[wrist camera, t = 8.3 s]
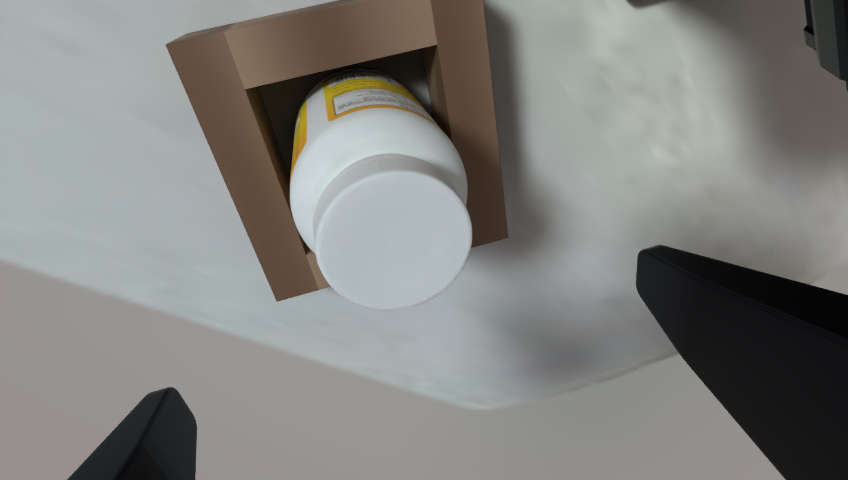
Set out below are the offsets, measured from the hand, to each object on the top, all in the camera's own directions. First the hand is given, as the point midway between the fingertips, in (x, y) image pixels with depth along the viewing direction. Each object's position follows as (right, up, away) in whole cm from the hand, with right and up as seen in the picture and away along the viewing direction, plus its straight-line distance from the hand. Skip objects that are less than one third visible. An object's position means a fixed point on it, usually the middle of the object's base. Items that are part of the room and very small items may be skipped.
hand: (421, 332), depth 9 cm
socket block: (-3, +6, +11) cm, 13 cm away
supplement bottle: (-3, +6, +11) cm, 13 cm away
